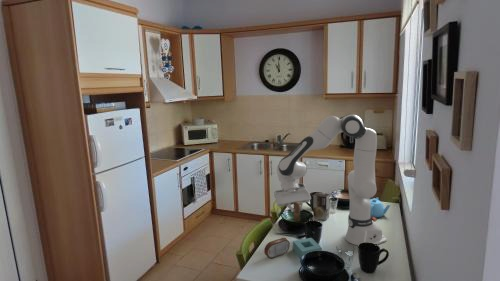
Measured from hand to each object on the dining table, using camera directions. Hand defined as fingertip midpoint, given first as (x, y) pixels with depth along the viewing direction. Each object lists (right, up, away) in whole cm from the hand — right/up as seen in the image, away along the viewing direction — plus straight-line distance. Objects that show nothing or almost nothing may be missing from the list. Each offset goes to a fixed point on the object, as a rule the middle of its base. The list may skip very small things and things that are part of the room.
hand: (297, 211), depth 174 cm
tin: (-12, -21, -9) cm, 26 cm away
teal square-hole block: (+4, -20, -8) cm, 22 cm away
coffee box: (+21, -12, +34) cm, 42 cm away
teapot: (+57, -11, +38) cm, 70 cm away
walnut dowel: (0, -5, +2) cm, 5 cm away
